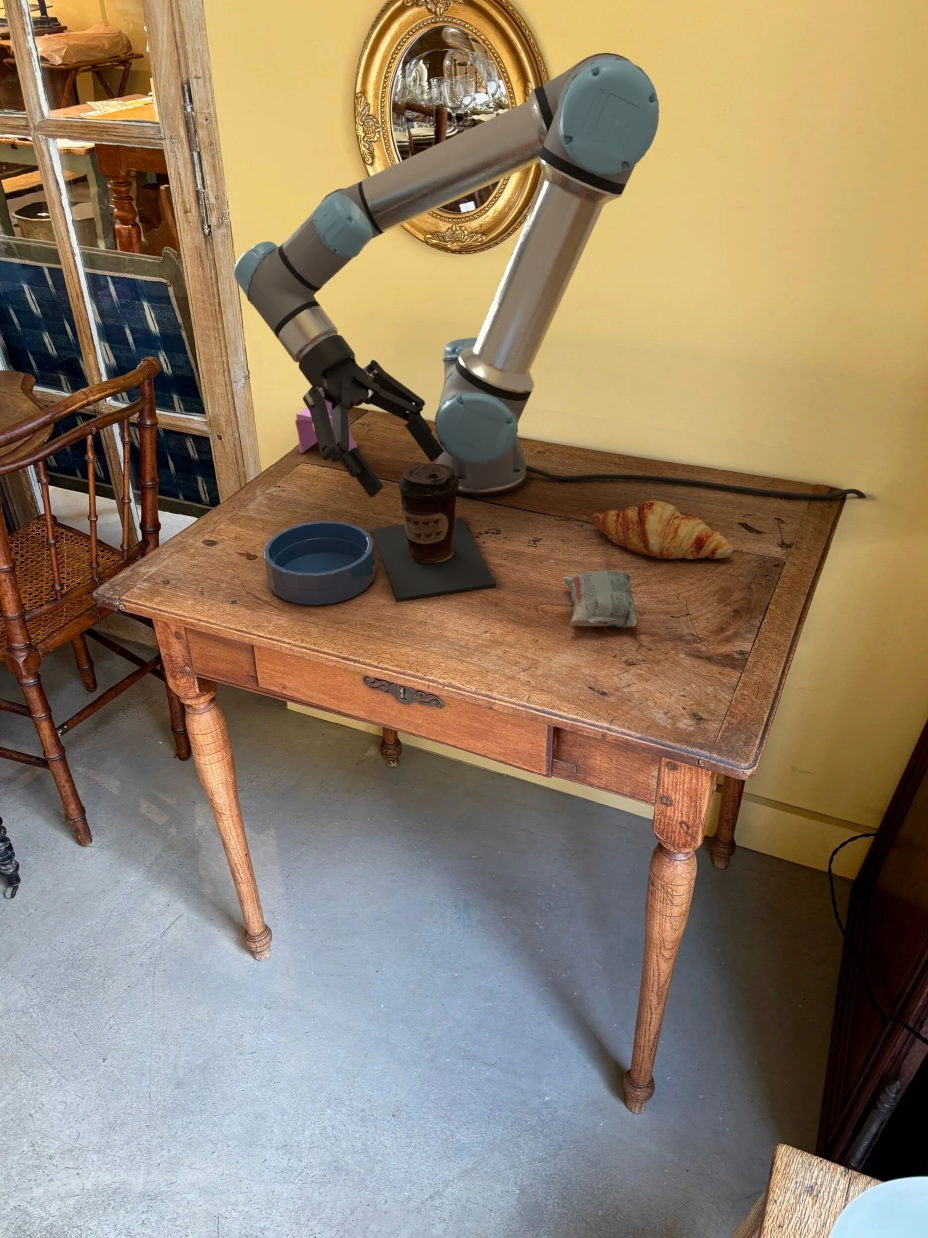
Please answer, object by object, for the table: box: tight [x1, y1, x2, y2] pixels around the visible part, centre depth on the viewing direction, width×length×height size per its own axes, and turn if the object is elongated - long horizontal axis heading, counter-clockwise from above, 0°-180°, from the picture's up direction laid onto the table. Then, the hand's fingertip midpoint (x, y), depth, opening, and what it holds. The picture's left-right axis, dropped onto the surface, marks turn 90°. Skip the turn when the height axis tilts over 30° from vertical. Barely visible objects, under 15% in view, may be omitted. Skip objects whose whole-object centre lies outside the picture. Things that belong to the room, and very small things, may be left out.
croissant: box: [591, 499, 734, 560], centre depth 136 cm, size 21×10×8 cm, turn 65°
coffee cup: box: [398, 462, 459, 563], centre depth 132 cm, size 9×8×13 cm
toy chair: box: [295, 400, 358, 454], centre depth 164 cm, size 8×9×15 cm
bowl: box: [263, 520, 377, 606], centre depth 131 cm, size 15×15×5 cm
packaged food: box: [562, 570, 638, 628], centre depth 122 cm, size 9×12×5 cm
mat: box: [372, 516, 497, 603], centre depth 136 cm, size 14×20×1 cm
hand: (408, 474), depth 131 cm, fingers open, 13 cm apart
